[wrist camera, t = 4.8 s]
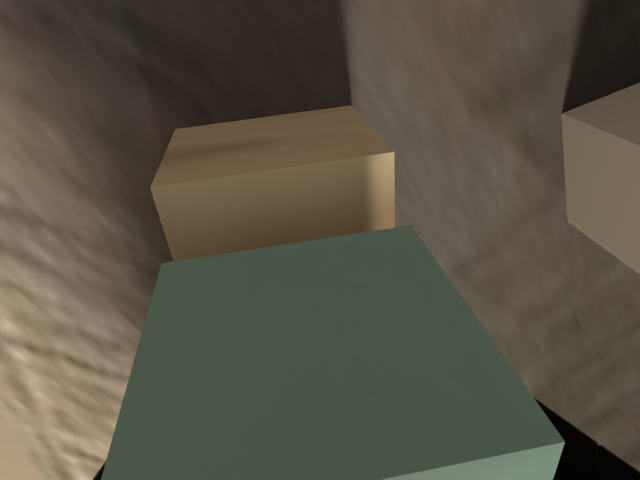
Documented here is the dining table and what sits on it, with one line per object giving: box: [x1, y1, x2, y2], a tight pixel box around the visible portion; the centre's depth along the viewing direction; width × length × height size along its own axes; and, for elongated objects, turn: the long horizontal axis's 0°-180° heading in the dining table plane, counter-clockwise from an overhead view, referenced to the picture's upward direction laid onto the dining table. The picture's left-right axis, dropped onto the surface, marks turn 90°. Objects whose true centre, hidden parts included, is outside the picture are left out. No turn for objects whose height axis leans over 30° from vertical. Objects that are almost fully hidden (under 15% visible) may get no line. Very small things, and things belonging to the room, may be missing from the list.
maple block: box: [150, 105, 395, 261], centre depth 14 cm, size 6×6×5 cm
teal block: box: [101, 225, 565, 480], centre depth 8 cm, size 5×5×5 cm
